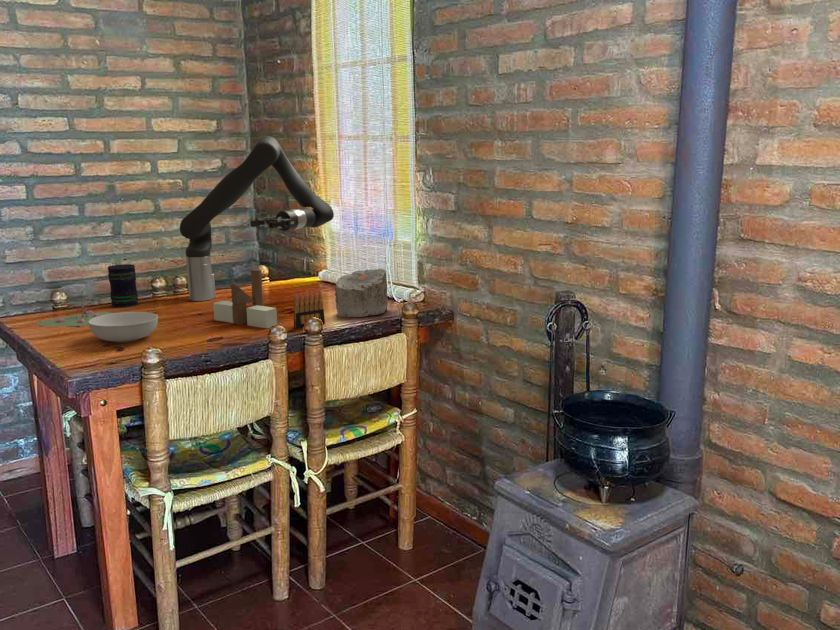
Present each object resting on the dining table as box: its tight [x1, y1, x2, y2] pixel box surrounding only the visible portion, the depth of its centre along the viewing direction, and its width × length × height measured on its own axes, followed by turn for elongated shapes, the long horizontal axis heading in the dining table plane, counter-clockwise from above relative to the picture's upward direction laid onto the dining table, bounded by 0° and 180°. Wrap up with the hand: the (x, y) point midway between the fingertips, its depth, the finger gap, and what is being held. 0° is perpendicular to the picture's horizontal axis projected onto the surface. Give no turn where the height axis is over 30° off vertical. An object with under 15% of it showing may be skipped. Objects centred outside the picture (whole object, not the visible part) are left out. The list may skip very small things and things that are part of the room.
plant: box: [34, 296, 112, 327], centre depth 280 cm, size 25×21×9 cm
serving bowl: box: [88, 311, 159, 343], centre depth 254 cm, size 21×21×7 cm
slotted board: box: [212, 300, 278, 329], centre depth 273 cm, size 5×25×6 cm, turn 57°
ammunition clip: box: [293, 288, 326, 329], centre depth 267 cm, size 11×2×12 cm, turn 123°
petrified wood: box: [334, 268, 389, 318], centre depth 284 cm, size 19×17×15 cm
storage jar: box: [107, 258, 139, 309], centre depth 303 cm, size 10×10×18 cm
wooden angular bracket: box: [230, 268, 264, 326], centre depth 272 cm, size 4×11×18 cm, turn 129°
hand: (260, 224), depth 280 cm, fingers open, 8 cm apart
